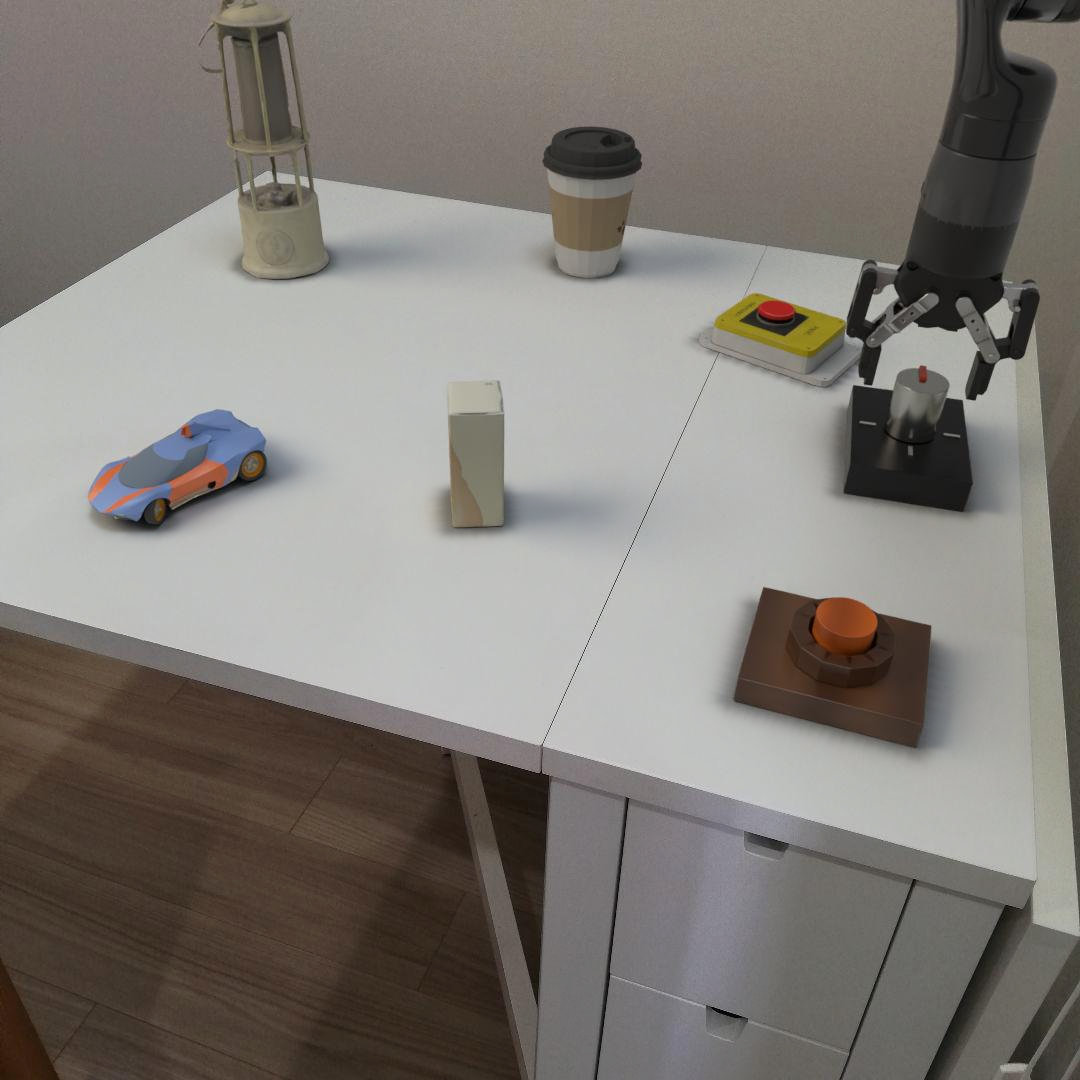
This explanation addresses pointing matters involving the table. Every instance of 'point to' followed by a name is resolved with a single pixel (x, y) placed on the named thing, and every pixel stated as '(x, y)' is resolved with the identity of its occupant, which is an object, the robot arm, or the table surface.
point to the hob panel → (906, 455)
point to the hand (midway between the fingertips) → (918, 388)
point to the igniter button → (844, 626)
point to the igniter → (836, 671)
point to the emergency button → (783, 339)
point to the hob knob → (916, 405)
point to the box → (476, 452)
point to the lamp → (269, 144)
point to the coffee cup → (590, 196)
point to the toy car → (180, 468)
